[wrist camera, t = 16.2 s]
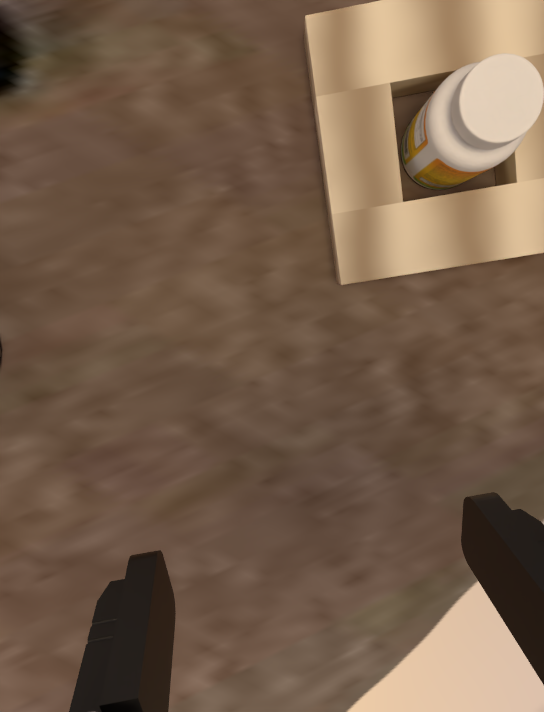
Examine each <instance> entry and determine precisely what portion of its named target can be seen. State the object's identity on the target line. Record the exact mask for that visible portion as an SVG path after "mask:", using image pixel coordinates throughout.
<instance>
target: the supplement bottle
mask: <svg viewBox="0 0 544 712" xmlns="http://www.w3.org/2000/svg"><path fill="white" fill-rule="evenodd" d="M543 101H544V87H543V82H542V79H541V76H540V74H539V72H538V71H537V69H536V68H535V67H534V66H533V64H532V63H530V62H529V61H528V60H526V59H525V58H523V57H521V56H518V55H515V54H509V53H502V54H496V55H493V56H490V57H488V58H486V59H484V60H482V61H481V62H476V63H472V64H468V65H466V66H463V67H461V68H460V69H458V70H456V71H455V72H453V73H452V74H451V75H449V76H448V77H447V78H446V79H445V80H444V81H443V82H442V83H441V84H440V86H439V87H438V88H437V89H436V90H435V92H434V93H433V94H432V96H431V97H430V98H429V99H428V101H427V102H426V103H425V104H424V106H423V107H422V108H421V109H420V111H419V112H418V113H417V114H416V116H415V117H414V118H413V119H412V121H411V122H410V124H409V125H408V127H407V129H406V131H405V133H404V136H403V139H402V143H401V158H402V162H403V165H404V168H405V170H406V172H407V173H408V175H409V176H410V177H411V178H412V179H413V180H414V181H415V182H416V183H418V184H419V185H421V186H423V187H426V188H429V189H434V190H443V189H449V188H452V187H455V186H457V185H459V184H461V183H463V182H465V181H467V180H469V179H471V178H473V177H475V176H477V175H479V174H481V173H483V172H485V171H487V170H489V169H491V168H493V167H495V166H497V165H498V164H500V163H501V162H503V161H504V160H506V159H507V158H508V157H509V156H510V155H511V154H512V153H513V152H514V151H515V150H516V149H517V148H518V146H519V145H520V143H521V142H522V140H523V138H524V137H525V135H526V132H527V131H528V130H529V129H530V128H531V127H532V126H533V124H534V123H535V122H536V120H537V118H538V116H539V114H540V112H541V109H542V105H543Z"/></svg>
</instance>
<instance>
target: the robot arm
mask: <svg viewBox="0 0 544 712" xmlns="http://www.w3.org/2000/svg"><path fill="white" fill-rule="evenodd" d="M0 355H1V349H0ZM461 543H462V549H463V553H464V556H465V559H466V561H467V563H468V565H469V567H470V568H471V570H472V571H473V573H474V575H475V576H476V578H477V579H478V581H479V583H480V584H481V586H482V587H483V589H484V591H485V592H486V594H487V595H488V597H489V598H490V600H491V602H492V603H493V605H494V606H495V608H496V610H497V611H498V613H499V614H500V616H501V618H502V619H503V621H504V622H505V624H506V626H507V627H508V629H509V630H510V632H511V633H512V635H513V637H514V638H515V640H516V641H517V643H518V645H519V646H520V648H521V649H522V651H523V653H524V654H525V656H526V657H527V659H528V660H529V662H530V664H531V665H532V667H533V668H534V670H535V671H536V673H537V675H538V676H539V678H540V680H541V681H542V683H543V684H544V525H543V524H542V522H541V521H539V520H537V519H536V518H534V517H533V516H531V515H529V514H528V513H526V512H525V511H523V510H521V509H517V510H511V509H510V508H509V507H508V505H507V504H506V503H505V502H504V501H503V500H502V498H501V497H500V496H499V495H498V494H496V493H494V492H493V493H487V494H481V495H476V496H470V497H466V498H465V499H464V503H463V519H462V536H461ZM174 629H175V600H174V594H173V589H172V586H171V582H170V579H169V575H168V571H167V568H166V564H165V561H164V557H163V554H162V552H161V551H160V550H159V551H154V552H148V553H142V554H137V555H131V556H130V558H129V561H128V566H127V571H126V576H125V579H122V580H117V581H111V582H110V583H109V585H108V586H107V588H106V589H105V591H104V592H103V594H102V595H101V597H100V598H99V600H98V601H97V605H96V609H95V613H94V616H93V620H92V626H91V628H90V632H89V636H88V644H86V648H85V652H84V656H83V660H82V663H81V667H80V671H79V675H78V679H77V683H76V687H75V691H74V695H73V699H72V703H71V707H70V711H69V712H168V707H169V694H170V681H171V668H172V655H173V642H174Z"/></svg>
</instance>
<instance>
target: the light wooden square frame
mask: <svg viewBox="0 0 544 712" xmlns="http://www.w3.org/2000/svg"><path fill="white" fill-rule="evenodd" d="M304 44H305V51H306V58H307V66H308V73H309V81H310V88H311V95H312V103H313V110H314V117H315V125H316V132H317V140H318V147H319V154H320V162H321V169H322V176H323V184H324V191H325V199H326V206H327V213H328V221H329V228H330V235H331V243H332V250H333V258H334V265H335V272H336V280H337V284H340V285H344V284H351V283H357V282H363V281H369V280H376V279H382V278H388V277H394V276H401V275H407V274H413V273H419V272H426V271H432V270H438V269H444V268H451V267H457V266H463V265H469V264H476V263H482V262H488V261H495V260H501V259H507V258H513V257H520V256H526V255H532V254H538V253H544V101H543V105H542V109H541V112H540V114H539V116H538V118H537V120H536V122H535V123H534V124H533V126H532V127H531V128H530V129H529V130H528V131H527V132H526V135H525V137H524V138H523V140H522V142H521V143H520V145H519V146H518V148H517V149H516V150H515V151H514V152H513V153H512V154H511V155H510V156H509V157H508V158H507V159H506V160H504V161H503V162H501V163H500V164H498V165H497V166H495V177H496V186H494V187H489V188H483V189H477V190H471V191H465V192H459V193H453V194H448V195H442V196H436V197H430V198H424V199H418V200H412V201H407V202H403V197H402V188H401V178H400V169H399V160H398V151H397V141H396V132H395V123H394V114H393V105H392V98H395V97H400V96H406V95H411V94H417V93H422V92H427V91H433V90H436V89H437V88H438V87H439V86H440V84H441V83H442V82H443V81H444V80H445V79H446V78H447V77H448V76H449V75H451V74H452V73H453V72H455V71H456V70H458V69H460V68H461V67H463V66H466V65H468V64H472V63H476V62H481V61H482V60H484V59H486V58H488V57H490V56H493V55H496V54H502V53H509V54H515V55H518V56H521V57H523V58H525V59H526V60H528V61H529V62H530V63H532V64H533V66H534V67H535V68H536V69H537V71H538V72H539V74H540V76H541V79H542V82H543V87H544V0H381V1H376V2H371V3H366V4H361V5H356V6H351V7H346V8H341V9H336V10H331V11H326V12H321V13H316V14H311V15H306V16H305V29H304Z"/></svg>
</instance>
